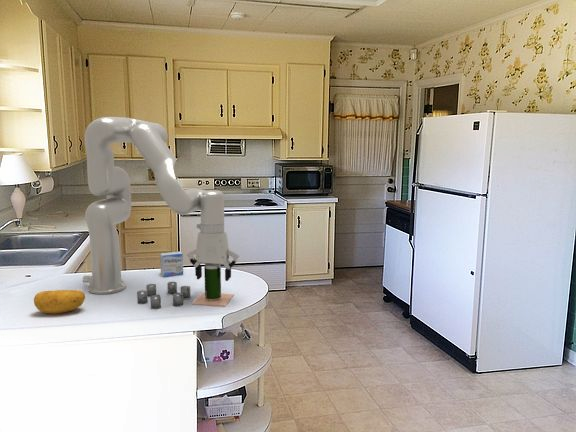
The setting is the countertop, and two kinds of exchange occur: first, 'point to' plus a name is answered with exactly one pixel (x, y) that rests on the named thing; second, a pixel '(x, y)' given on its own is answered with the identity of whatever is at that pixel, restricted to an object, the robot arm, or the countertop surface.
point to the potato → (59, 301)
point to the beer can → (212, 282)
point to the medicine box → (171, 264)
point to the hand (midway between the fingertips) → (213, 278)
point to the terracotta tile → (221, 302)
